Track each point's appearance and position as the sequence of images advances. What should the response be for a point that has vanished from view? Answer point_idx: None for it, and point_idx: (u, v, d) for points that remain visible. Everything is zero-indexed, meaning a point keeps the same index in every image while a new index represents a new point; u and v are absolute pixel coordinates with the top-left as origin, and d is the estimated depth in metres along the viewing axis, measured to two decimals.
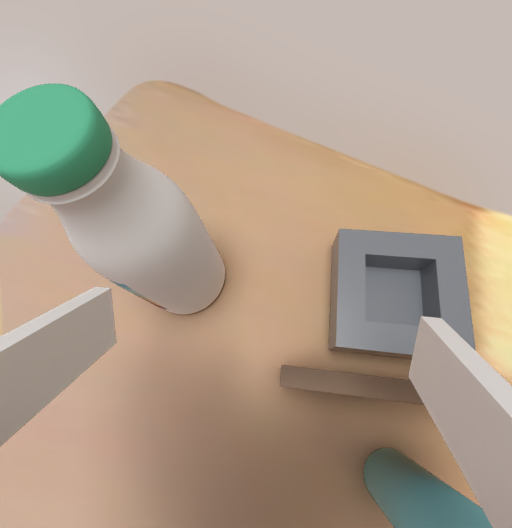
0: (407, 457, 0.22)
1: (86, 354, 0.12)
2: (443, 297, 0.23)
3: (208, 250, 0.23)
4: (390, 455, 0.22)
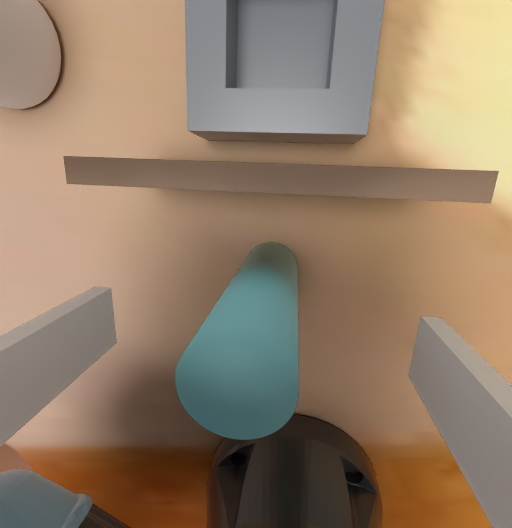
0: (278, 249, 0.20)
1: (85, 354, 0.12)
2: (341, 34, 0.15)
3: None
4: (260, 249, 0.20)
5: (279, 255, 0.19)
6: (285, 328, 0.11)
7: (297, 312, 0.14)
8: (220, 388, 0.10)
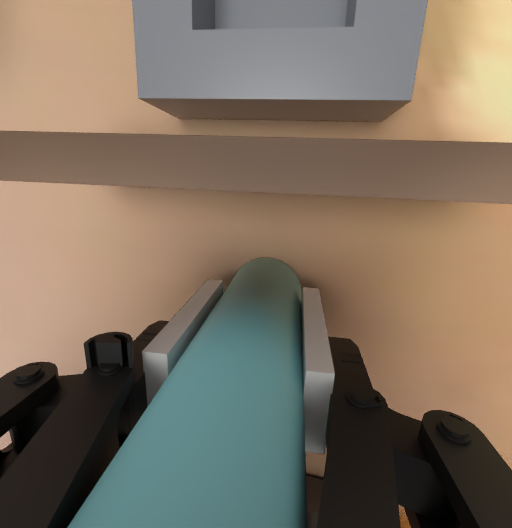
0: (275, 270, 0.15)
1: None
2: None
3: None
4: (250, 270, 0.15)
5: (275, 280, 0.13)
6: (279, 481, 0.05)
7: (302, 392, 0.08)
8: None
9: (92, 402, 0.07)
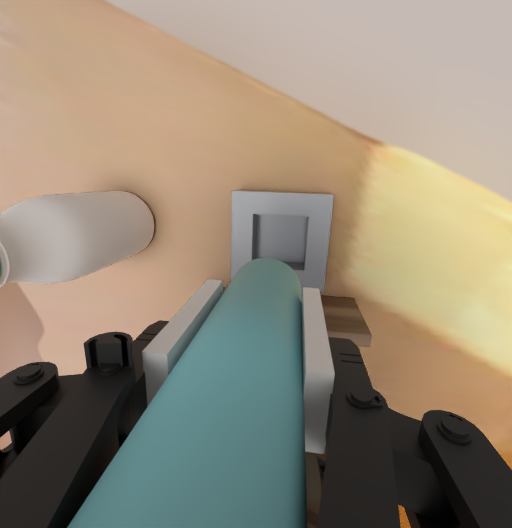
0: (275, 270, 0.15)
1: None
2: (309, 248, 0.31)
3: (121, 233, 0.29)
4: (250, 270, 0.15)
5: (275, 281, 0.13)
6: (280, 483, 0.05)
7: None
8: None
9: (92, 402, 0.07)
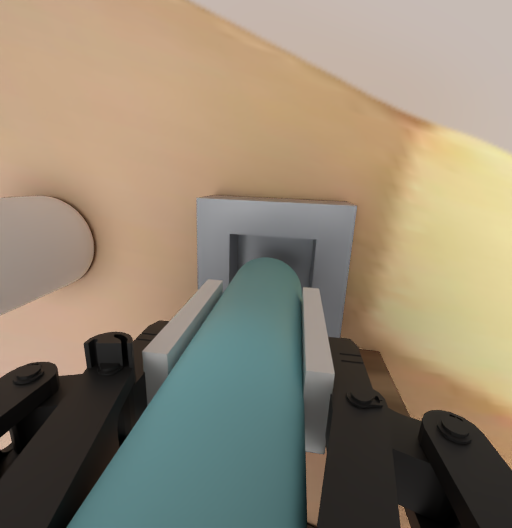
0: (275, 270, 0.15)
1: None
2: (317, 287, 0.20)
3: (17, 265, 0.18)
4: (250, 269, 0.15)
5: (275, 280, 0.13)
6: (280, 482, 0.05)
7: None
8: None
9: (92, 402, 0.07)
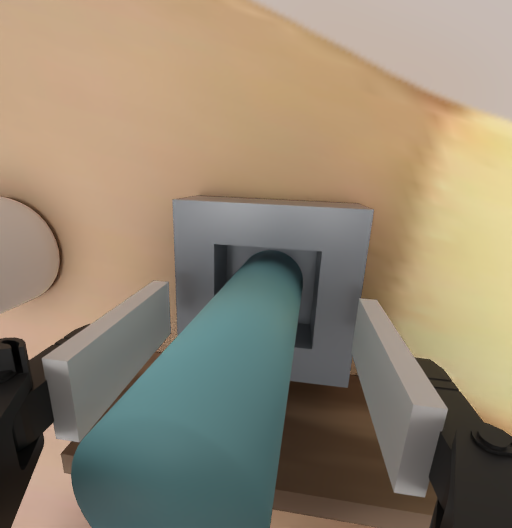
0: (277, 260, 0.16)
1: (151, 342, 0.13)
2: (322, 310, 0.16)
3: None
4: (255, 259, 0.16)
5: (276, 268, 0.15)
6: (259, 395, 0.07)
7: (290, 353, 0.10)
8: (142, 504, 0.06)
9: None
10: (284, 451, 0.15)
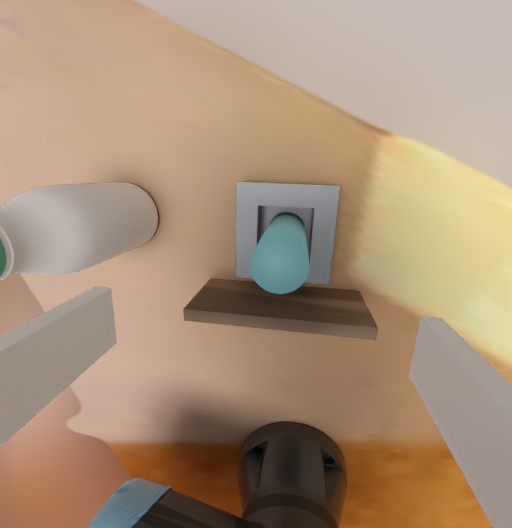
0: (292, 215, 0.31)
1: (85, 354, 0.12)
2: (315, 240, 0.30)
3: (125, 224, 0.29)
4: (280, 215, 0.31)
5: (293, 217, 0.29)
6: (302, 241, 0.21)
7: (306, 243, 0.24)
8: (272, 266, 0.20)
9: None
10: (295, 310, 0.29)
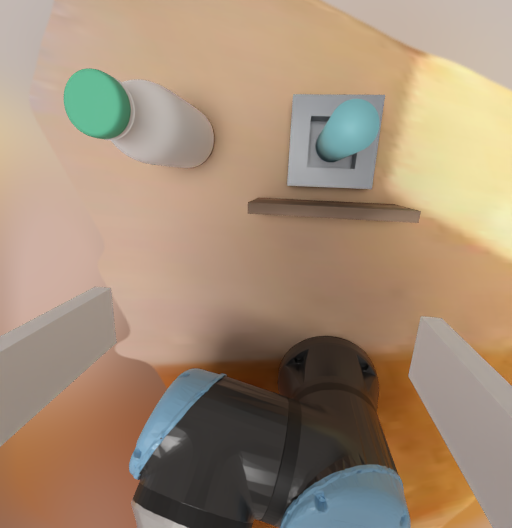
0: None
1: (85, 354, 0.12)
2: None
3: (197, 128, 0.33)
4: None
5: None
6: None
7: None
8: (347, 127, 0.24)
9: None
10: None
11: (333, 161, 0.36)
